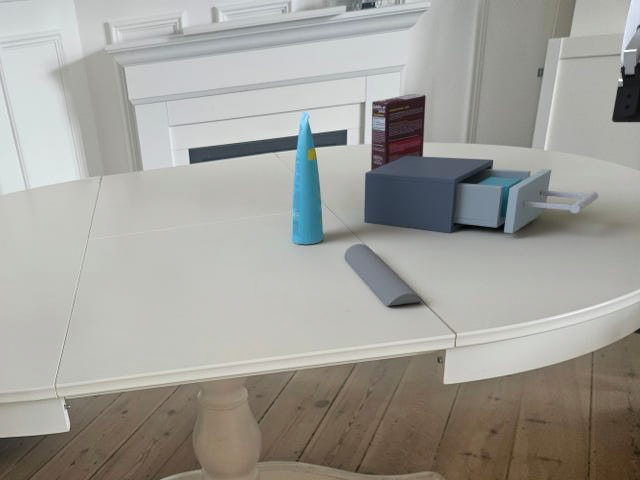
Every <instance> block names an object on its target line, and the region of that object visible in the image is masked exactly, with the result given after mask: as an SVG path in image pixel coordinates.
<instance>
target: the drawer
mask: <svg viewBox="0 0 640 480" xmlns="http://www.w3.org/2000/svg"><path fill="white" fill-rule="evenodd" d="M531 173H532V172H531V170H517V169H516V170H515V169H501V168H500V169H498V168H493V169H484V170H482V171H480V172H478V173H476V174H474V175H472V176H470V177H468V178H466V179H464V180H462V181H460V182H458V183H457V190H456V201H455V212H454V223H461V224H465V225H469V226H479V227H487V228H495V229H496V228H498V227H500V226H502V225H503V224H504V229H503V233H505V234H506V233H507V234H514V233H515V232H517V231H519V230H520V229H521V228H523V227H525V226H526V225H527V224H529V223H530V222H532V221H533V220H535V219H536V218H538V217H539V216H542V215H543V214H544V213H545V212H546V209H548V210H549V209H551V210H562V211H570V213H572V214H578V213H580V212H581V211H582V210H583V209H585V208H586V207H588V206H589V205H591V204H592V203H593V202H594V201H596V200H597V199H598V198H599V193H598V192H597V191H591V192H589V193H584V192H583V193H582V192H566V191H557V190H556V191H554V190H549V188H550V181H551V174H552V169H549V168H548V169H546V168H545V169H543V168H542V169H541V170H539V171H537V172H535V173H534V174H532V175H531ZM490 177H500V178H515V179H522V181H521V182H520V183H518V184H516V185H514V186H513V187H511V188H510V189H509V197H508V205H507V213H506V217H500V214H501V205H502V197H503V189H504V186H493V185H479V184H478V183H480V182H482V181H484V180H486V179H488V178H490ZM548 197H557V198H569V199H570V198H571V199H579V200H578V201H576V202H575V203H574V204H565V203H564V204H563V203H552V202H547V200H548Z"/></svg>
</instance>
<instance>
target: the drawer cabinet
mask: <svg viewBox="0 0 640 480" xmlns="http://www.w3.org/2000/svg"><path fill="white" fill-rule="evenodd" d="M484 169H494V159H486V158H485V159H483V158H463V157H462V158H461V157H443V156H442V157H439V156H423V157H420V156H405V157H402V158H400V159H397V160H395V161H393V162H390V163H388V164H385V165H383V166H381V167H378V168H376V169H374V170H371V169H370V170H368V171H366V172H365V174H364V211H363V212H364V216H363V217H364V218H363V221H364V223H370V224H378V225H387V226H393V227H401V228H407V229H416V230H424V231H430V232H431V231H432V232H438V233H439V232H440V233H446V234H451V233H453V232H455V231H456V230H458V229H460V228H462V227H463V226H465V225H466V224H461V223H454V212H455V201H456V190H457V183H458V182H460V181H462V180H464V179H466V178H468V177H470V176H472V175H474V174H476V173H478V172H480V171H482V170H484Z"/></svg>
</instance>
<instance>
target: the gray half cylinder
mask: <svg viewBox="0 0 640 480" xmlns="http://www.w3.org/2000/svg"><path fill="white" fill-rule="evenodd" d="M344 260H345V261H346V262H347V264H349V266H350V267H351V268H352V269H353V270H354V271H355V272H356V273H357V275H358V276H359V278H361V280H362V281H364V283H365V284H366V285H367V287H369V289H370V290H371V291H372V292H373V293H374V294H375V295H376V296H377V298H378V299H379V300H380V301H381V302H382V304H384V305H385V306H388V307H389V306H398V305H408V304H414V303H422V302H423V299H422V297H421V296H420V295H419V294H418V293H417V292H416V291H415V290H414V289H413V288H412V287H411V286H410V285H409V284H408V283H406V282H405V281H404V279H402V277H400V276H399V275H398V274H397V273H396V272H395V270H393V269H392V268H391V267H390V266H389V265H388V264H387V263H386V262H385V261H384V260H383V259H382V258H381V257H380V256H379V255H378V254H376V252H375V251H373V250H372V249H371V248H370V247H369V246H368V245H366V244H363V243H356V244H352V245H351V246H349V247H348V248H347V249H346V250H345V253H344Z"/></svg>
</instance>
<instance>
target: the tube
mask: <svg viewBox="0 0 640 480" xmlns="http://www.w3.org/2000/svg"><path fill="white" fill-rule="evenodd" d="M309 119H310V115H309V114H308V112H307V111H306V110H305V109H303V110H302V114H301V119H300V123H299V129H298V136H297V143H296V145H297V146H296V153H295V163H294V164H295V165H294V176H293V192H292V211H291V213H292V215H291V242H292V243H293V244H297V245H313V244H318V243H320V242H322V241H323V239H324V230H323V229H324V228H323V227H324V226H323V210H322V209H323V208H322V195H321V184H320V183H321V182H320V174H319V165H318V157H317V152H316V151H317V150H316V147H315V142H314V138H313V133H312V129H311V125H310V122H309Z"/></svg>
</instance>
